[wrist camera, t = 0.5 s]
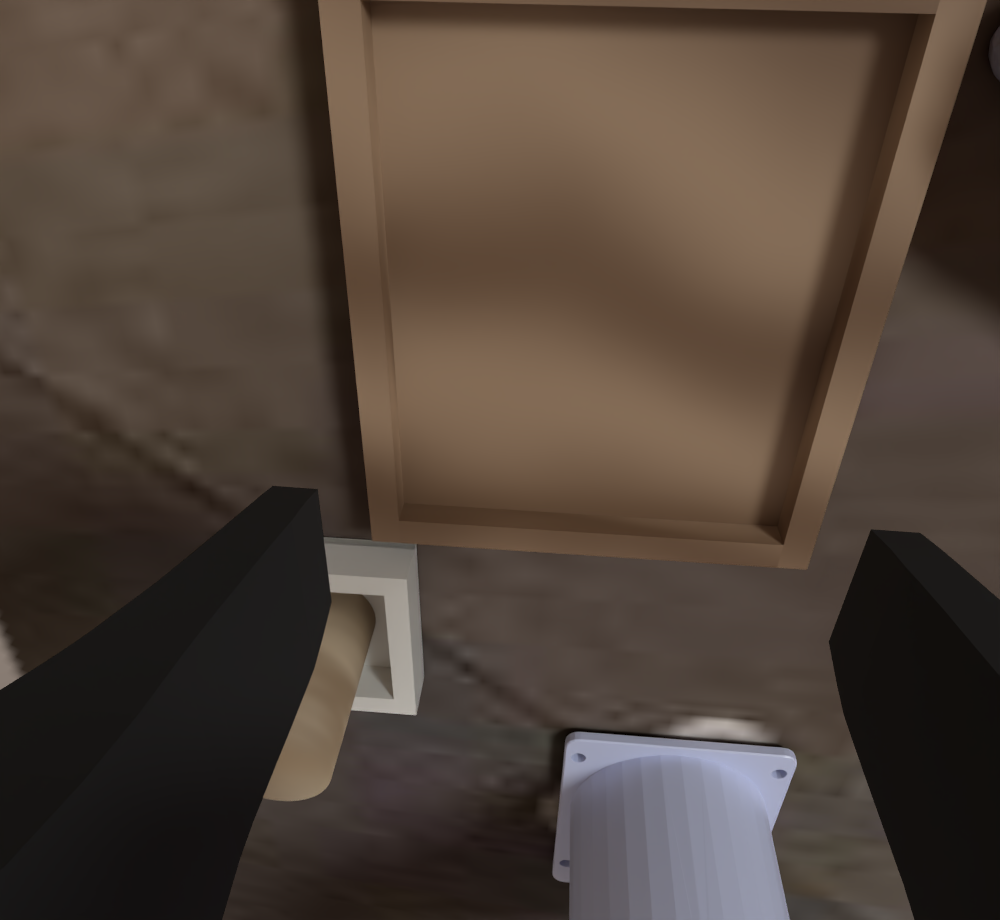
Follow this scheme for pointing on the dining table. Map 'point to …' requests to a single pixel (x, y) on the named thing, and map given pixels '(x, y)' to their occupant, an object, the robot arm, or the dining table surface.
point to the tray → (626, 258)
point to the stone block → (995, 53)
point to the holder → (384, 619)
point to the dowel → (325, 702)
